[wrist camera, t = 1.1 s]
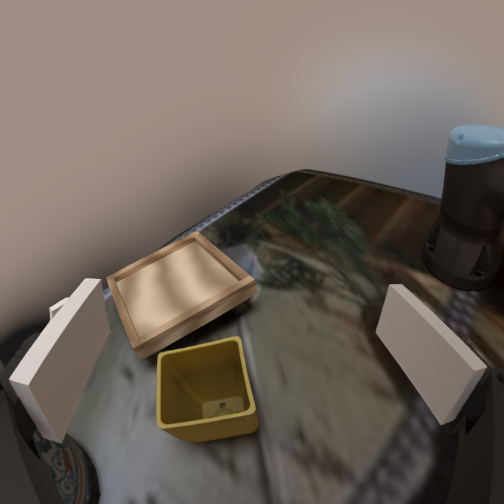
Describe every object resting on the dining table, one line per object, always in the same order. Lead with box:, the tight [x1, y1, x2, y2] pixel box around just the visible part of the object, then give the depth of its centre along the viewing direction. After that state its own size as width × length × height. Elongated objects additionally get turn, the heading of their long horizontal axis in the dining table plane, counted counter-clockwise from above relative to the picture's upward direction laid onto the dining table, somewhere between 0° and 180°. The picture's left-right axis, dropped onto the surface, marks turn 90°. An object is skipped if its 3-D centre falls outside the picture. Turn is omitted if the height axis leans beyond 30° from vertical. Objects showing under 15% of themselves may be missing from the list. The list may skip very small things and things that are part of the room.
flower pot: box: [157, 336, 258, 442], centre depth 27 cm, size 9×9×9 cm
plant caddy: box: [107, 231, 257, 360], centre depth 44 cm, size 18×18×6 cm
